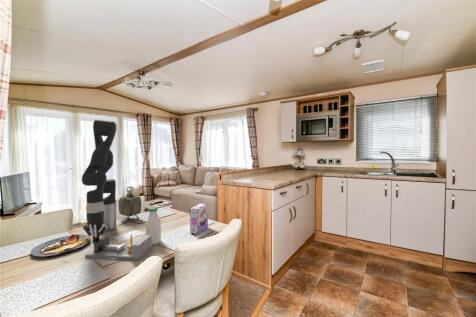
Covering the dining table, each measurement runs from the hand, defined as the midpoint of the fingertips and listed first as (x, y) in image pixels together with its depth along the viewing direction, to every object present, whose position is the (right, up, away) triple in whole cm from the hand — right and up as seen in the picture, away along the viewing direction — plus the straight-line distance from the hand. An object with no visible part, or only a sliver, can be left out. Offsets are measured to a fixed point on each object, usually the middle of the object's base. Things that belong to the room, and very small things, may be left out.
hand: (96, 243), depth 109 cm
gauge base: (+13, -5, -1) cm, 14 cm away
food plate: (-21, -5, +5) cm, 23 cm away
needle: (+19, -3, -2) cm, 20 cm away
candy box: (+48, -4, +29) cm, 57 cm away
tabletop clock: (-9, -3, +51) cm, 52 cm away
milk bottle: (+25, -4, +12) cm, 28 cm away
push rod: (+8, -3, -1) cm, 9 cm away
